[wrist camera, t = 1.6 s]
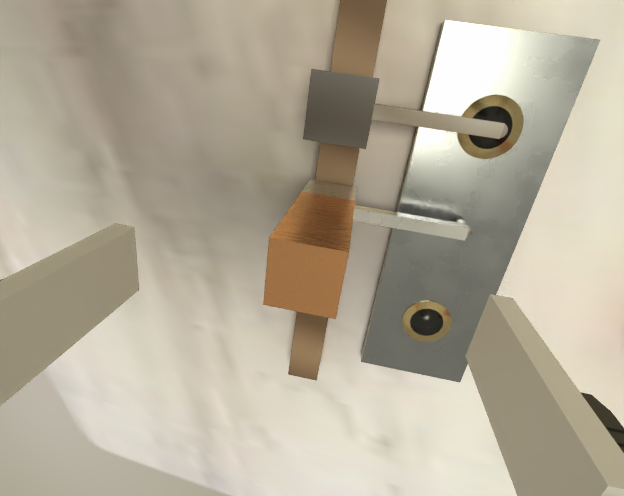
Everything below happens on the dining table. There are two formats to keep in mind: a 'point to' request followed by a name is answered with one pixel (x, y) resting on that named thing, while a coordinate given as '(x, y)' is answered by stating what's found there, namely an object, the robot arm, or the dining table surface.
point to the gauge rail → (338, 156)
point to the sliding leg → (329, 245)
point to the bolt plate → (471, 188)
